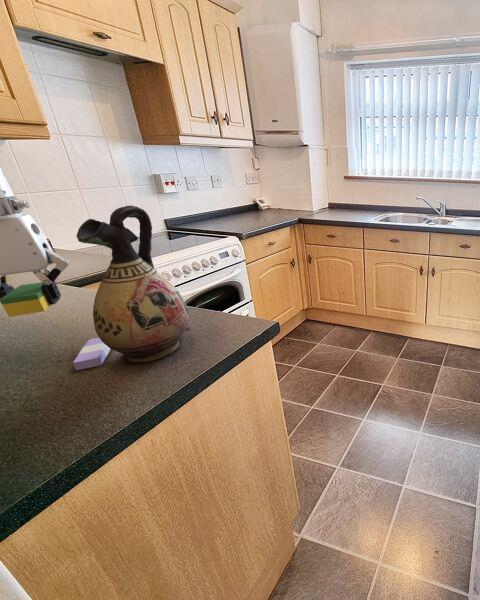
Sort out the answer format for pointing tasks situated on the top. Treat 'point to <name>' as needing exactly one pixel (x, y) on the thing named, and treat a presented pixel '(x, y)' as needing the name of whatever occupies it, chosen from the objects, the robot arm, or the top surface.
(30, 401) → the top surface
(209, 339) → the top surface
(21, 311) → the sponge
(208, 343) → the top surface
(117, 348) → the ceramic jug
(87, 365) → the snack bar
